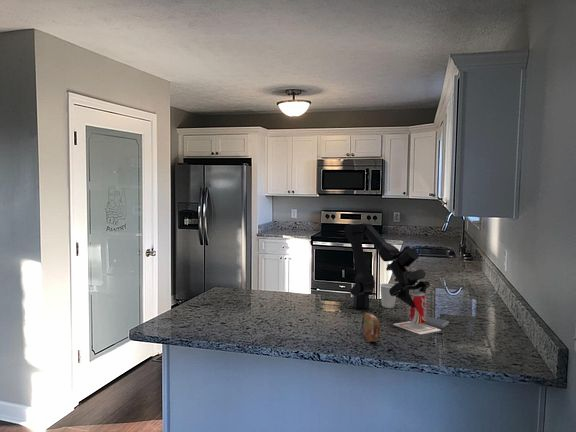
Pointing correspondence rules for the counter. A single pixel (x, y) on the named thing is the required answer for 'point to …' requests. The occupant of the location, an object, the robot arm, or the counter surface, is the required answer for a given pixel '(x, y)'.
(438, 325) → the ink pad
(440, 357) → the counter surface
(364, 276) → the robot arm
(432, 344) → the counter surface
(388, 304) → the dixie cup
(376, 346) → the counter surface
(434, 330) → the print card
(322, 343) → the counter surface
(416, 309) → the soda can
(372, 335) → the brown oval slab
